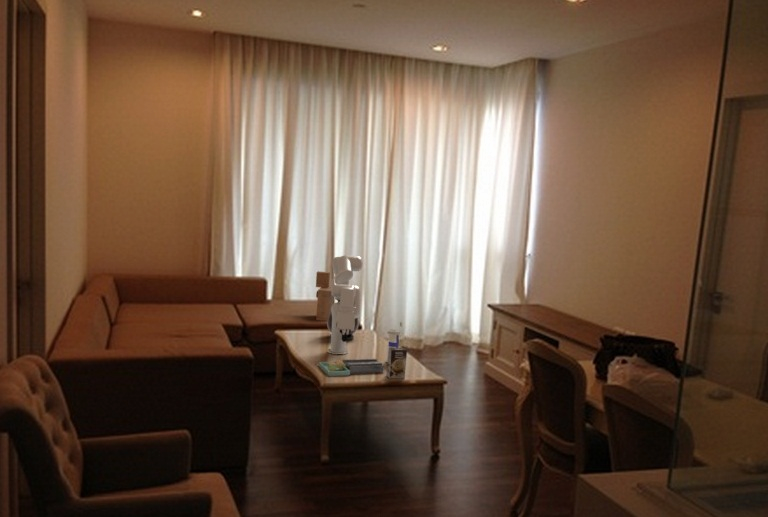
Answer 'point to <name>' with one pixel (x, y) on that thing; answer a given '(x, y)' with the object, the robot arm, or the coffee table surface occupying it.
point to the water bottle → (393, 340)
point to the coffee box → (396, 362)
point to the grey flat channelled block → (363, 365)
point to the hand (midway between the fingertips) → (344, 341)
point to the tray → (333, 373)
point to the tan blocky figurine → (323, 296)
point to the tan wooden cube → (331, 366)
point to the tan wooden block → (340, 365)
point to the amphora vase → (350, 335)
